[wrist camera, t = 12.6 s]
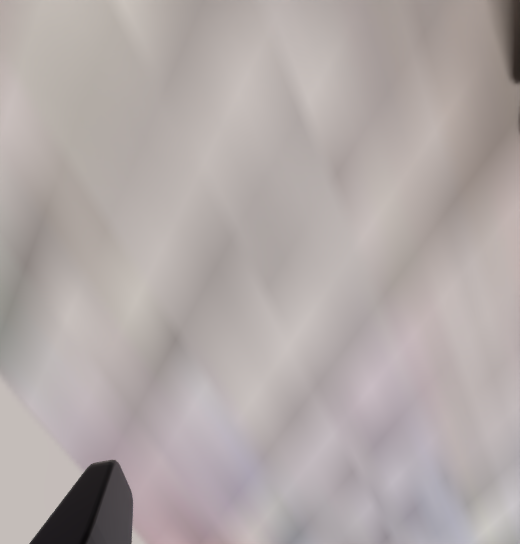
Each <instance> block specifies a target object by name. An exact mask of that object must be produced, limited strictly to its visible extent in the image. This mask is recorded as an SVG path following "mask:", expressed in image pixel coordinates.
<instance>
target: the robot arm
mask: <svg viewBox="0 0 520 544" xmlns="http://www.w3.org/2000/svg"><path fill="white" fill-rule="evenodd" d="M132 518H133V498H132V493H131V489H130V487H129V485H128V483H127V480H126V478H125V476H124V474H123V471H122V469H121V467H120V465H119V463H118V462H117V461H116V460H108V461H102V462H97V463H93V464H91V465H90V466H89V467H88V468H87V469H86V470H85V472H84V473H83V474H82V475H81V477H80V478H79V479H78V481H77V482H76V483H75V485H74V486H73V487H72V489H71V490H70V491H69V492H68V494H67V495H66V496H65V498H64V499H63V500H62V502H61V503H60V504H59V506H58V507H57V508H56V509H55V511H54V512H53V513H52V515H51V516H50V517H49V519H48V520H47V521H46V523H45V524H44V525H43V527H42V528H41V529H40V531H39V532H38V533H37V534H36V536H35V537H34V538H33V540H32V541H31V542H30V544H131V542H132Z"/></svg>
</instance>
